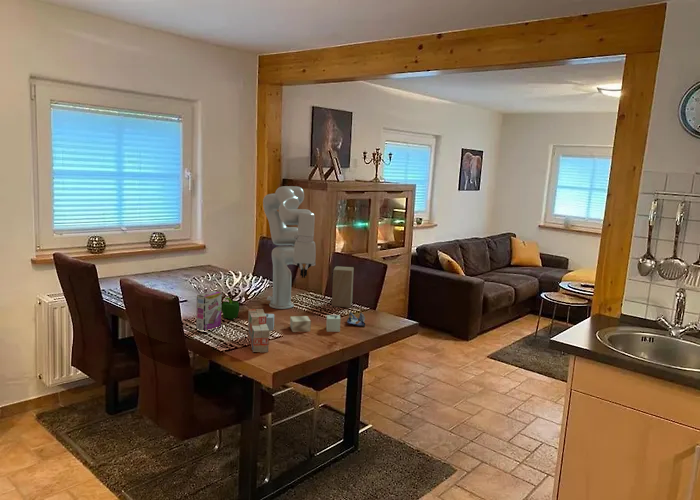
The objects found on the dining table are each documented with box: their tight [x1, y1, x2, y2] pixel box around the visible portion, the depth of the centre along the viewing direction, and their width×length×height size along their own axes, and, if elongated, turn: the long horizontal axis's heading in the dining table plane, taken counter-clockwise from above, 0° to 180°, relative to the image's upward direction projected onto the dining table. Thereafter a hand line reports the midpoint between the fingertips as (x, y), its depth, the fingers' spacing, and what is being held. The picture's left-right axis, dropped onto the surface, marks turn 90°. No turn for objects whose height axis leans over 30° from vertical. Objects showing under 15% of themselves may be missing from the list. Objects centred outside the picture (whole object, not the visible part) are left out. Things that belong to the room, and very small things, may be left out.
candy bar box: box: [195, 290, 223, 331], centre depth 238 cm, size 11×5×16 cm, turn 152°
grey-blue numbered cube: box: [265, 313, 275, 331], centre depth 244 cm, size 6×6×6 cm
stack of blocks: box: [247, 308, 270, 353], centre depth 223 cm, size 21×6×12 cm, turn 16°
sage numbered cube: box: [325, 314, 341, 333], centre depth 247 cm, size 6×6×6 cm
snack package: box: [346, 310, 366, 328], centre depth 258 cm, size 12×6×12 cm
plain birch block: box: [289, 315, 312, 333], centre depth 245 cm, size 8×8×5 cm
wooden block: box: [331, 265, 355, 308], centre depth 289 cm, size 10×10×20 cm
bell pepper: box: [221, 297, 240, 320], centre depth 257 cm, size 8×8×10 cm
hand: (303, 277), depth 253 cm, fingers closed
